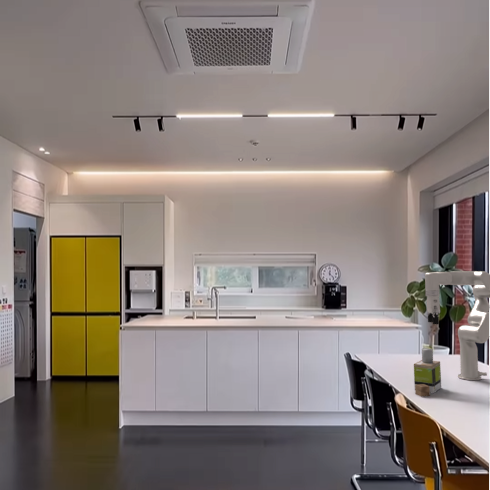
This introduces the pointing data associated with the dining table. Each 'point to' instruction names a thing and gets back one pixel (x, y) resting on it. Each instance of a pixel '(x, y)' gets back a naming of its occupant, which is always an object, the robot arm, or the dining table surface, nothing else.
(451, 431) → the dining table surface
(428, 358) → the grey upright cylinder
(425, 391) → the walnut block
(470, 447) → the dining table surface
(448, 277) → the robot arm
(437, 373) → the tea box
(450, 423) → the dining table surface
